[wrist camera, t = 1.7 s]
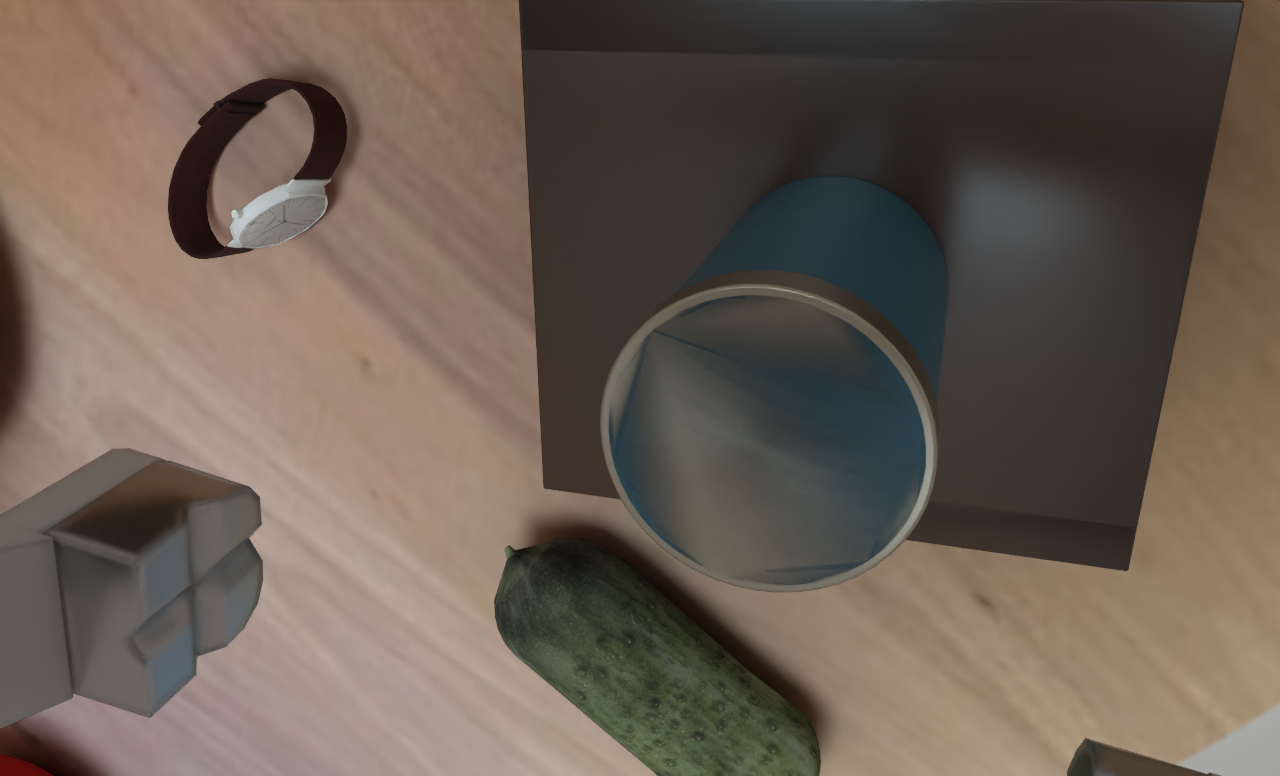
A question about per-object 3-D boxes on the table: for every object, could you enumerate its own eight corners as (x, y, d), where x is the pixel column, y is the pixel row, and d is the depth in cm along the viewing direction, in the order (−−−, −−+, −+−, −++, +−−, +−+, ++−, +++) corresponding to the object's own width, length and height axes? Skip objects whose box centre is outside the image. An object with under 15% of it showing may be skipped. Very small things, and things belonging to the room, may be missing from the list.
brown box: (1169, -22, 27) (1245, 0, 19) (1093, 410, 32) (1128, 572, 24) (639, -23, 31) (517, -5, 23) (642, 363, 35) (543, 488, 27)
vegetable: (858, 726, 38) (842, 829, 34) (765, 793, 41) (738, 897, 37) (568, 474, 38) (513, 546, 34) (491, 557, 40) (431, 634, 36)
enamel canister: (967, 177, 21) (956, 299, 14) (940, 411, 24) (919, 618, 16) (715, 164, 23) (594, 270, 16) (711, 386, 25) (602, 567, 18)
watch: (260, 278, 39) (194, 310, 35) (172, 174, 38) (98, 197, 35) (393, 150, 35) (333, 173, 32) (298, 33, 34) (228, 44, 31)
